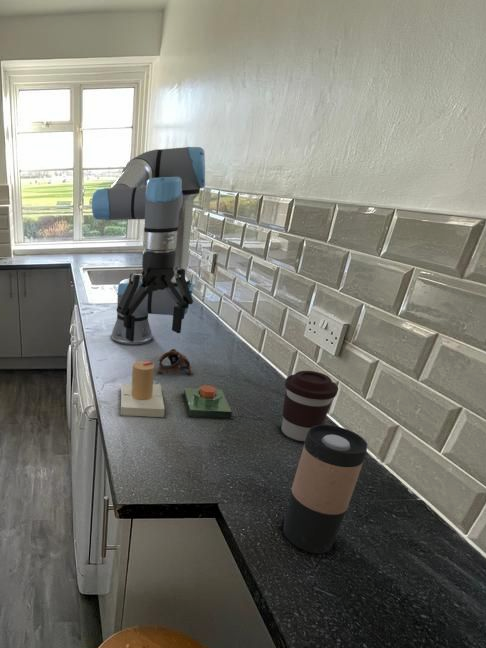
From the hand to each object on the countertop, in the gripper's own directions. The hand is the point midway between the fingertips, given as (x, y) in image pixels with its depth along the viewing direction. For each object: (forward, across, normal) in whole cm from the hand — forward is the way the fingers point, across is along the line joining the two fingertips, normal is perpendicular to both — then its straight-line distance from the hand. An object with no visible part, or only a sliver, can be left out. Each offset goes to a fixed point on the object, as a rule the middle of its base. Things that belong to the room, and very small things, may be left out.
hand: (153, 335), depth 102 cm
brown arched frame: (+20, +18, +14) cm, 30 cm away
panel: (+20, -2, +1) cm, 20 cm away
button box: (+20, +13, -7) cm, 25 cm away
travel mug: (+20, 0, -49) cm, 53 cm away
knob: (+17, -2, +1) cm, 17 cm away
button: (+16, +13, -7) cm, 22 cm away
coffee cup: (+20, +24, -26) cm, 41 cm away
